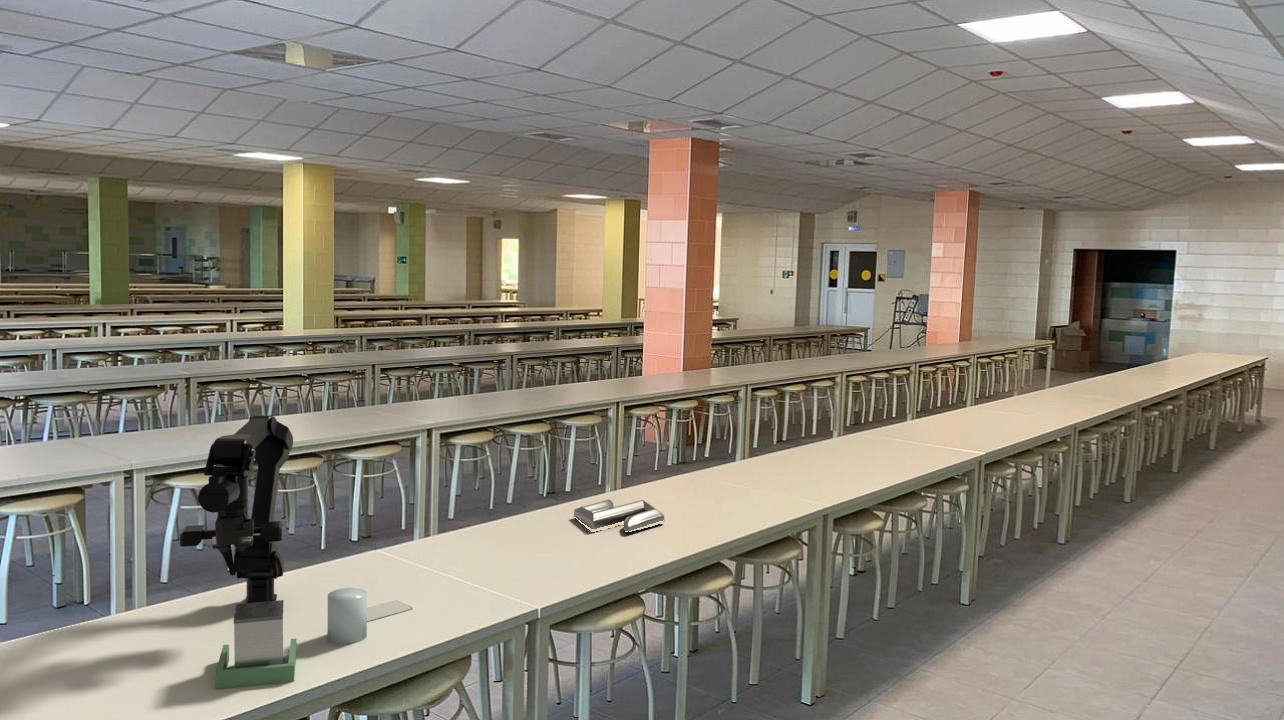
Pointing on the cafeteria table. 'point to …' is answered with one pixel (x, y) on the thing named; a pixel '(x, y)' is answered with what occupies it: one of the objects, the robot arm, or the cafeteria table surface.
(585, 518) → the emblem
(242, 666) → the tin
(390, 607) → the smartphone
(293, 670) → the bay
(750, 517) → the cafeteria table surface
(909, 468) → the cafeteria table surface
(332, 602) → the round-topped grey cylinder
